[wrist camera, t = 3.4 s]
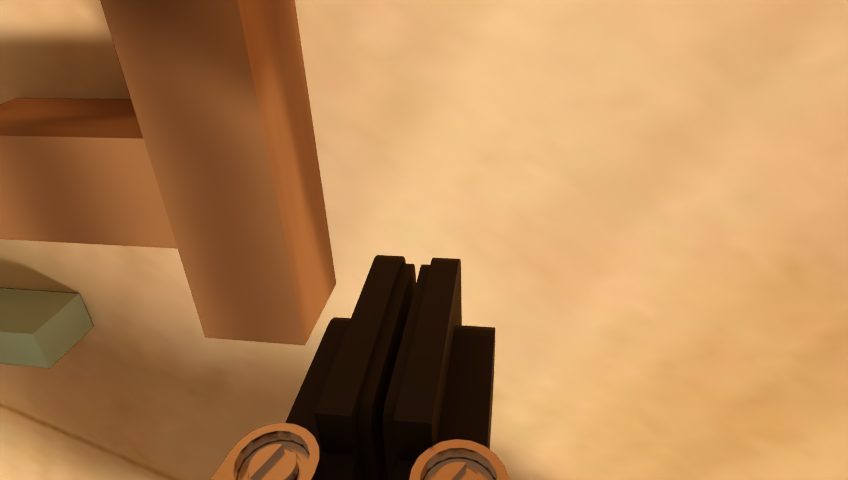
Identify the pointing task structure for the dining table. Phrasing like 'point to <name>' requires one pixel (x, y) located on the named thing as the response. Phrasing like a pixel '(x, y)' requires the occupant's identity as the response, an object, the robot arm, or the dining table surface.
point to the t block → (188, 162)
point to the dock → (40, 326)
